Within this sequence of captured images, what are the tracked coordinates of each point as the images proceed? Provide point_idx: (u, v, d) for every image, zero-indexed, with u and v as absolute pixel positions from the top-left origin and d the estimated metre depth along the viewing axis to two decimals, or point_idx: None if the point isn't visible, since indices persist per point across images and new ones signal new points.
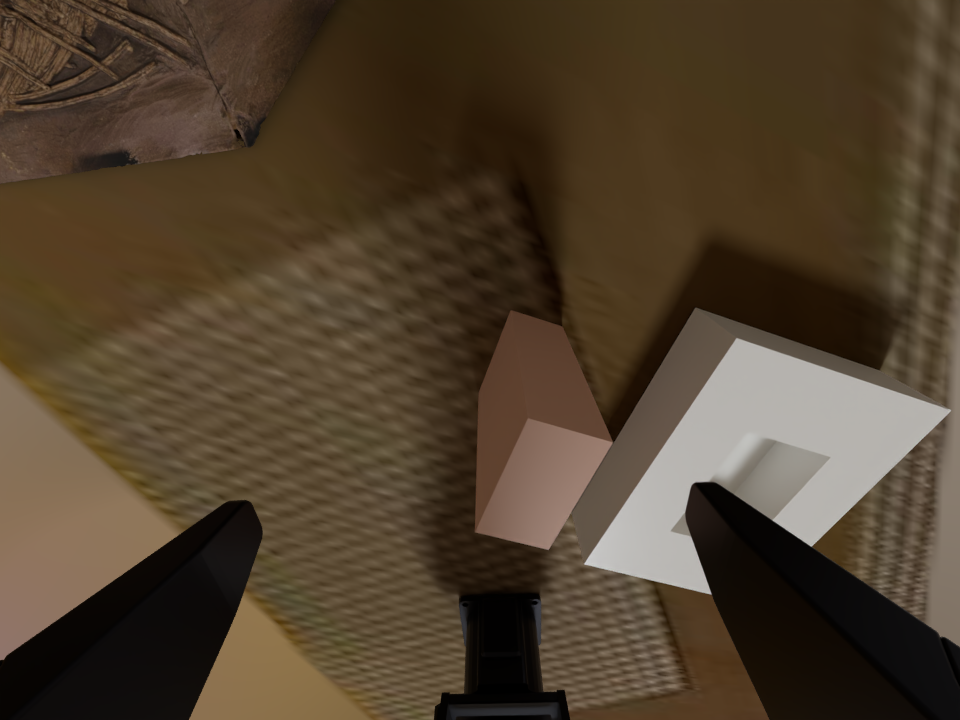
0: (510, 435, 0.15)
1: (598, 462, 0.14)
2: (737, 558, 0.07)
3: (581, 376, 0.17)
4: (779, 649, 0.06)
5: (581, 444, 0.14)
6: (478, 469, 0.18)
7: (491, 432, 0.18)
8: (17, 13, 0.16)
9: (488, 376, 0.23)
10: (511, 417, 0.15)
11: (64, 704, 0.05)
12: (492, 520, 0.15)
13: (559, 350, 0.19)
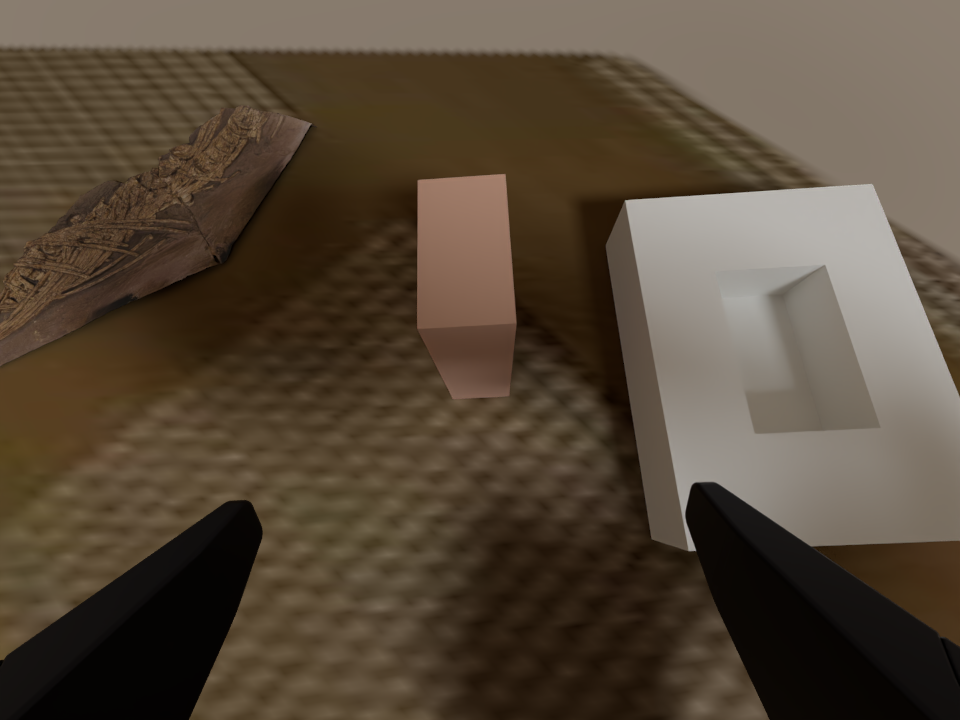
0: None
1: (504, 197, 0.14)
2: (737, 558, 0.07)
3: None
4: (779, 649, 0.06)
5: (477, 185, 0.14)
6: None
7: None
8: (85, 244, 0.26)
9: None
10: None
11: (64, 704, 0.05)
12: (430, 304, 0.13)
13: None
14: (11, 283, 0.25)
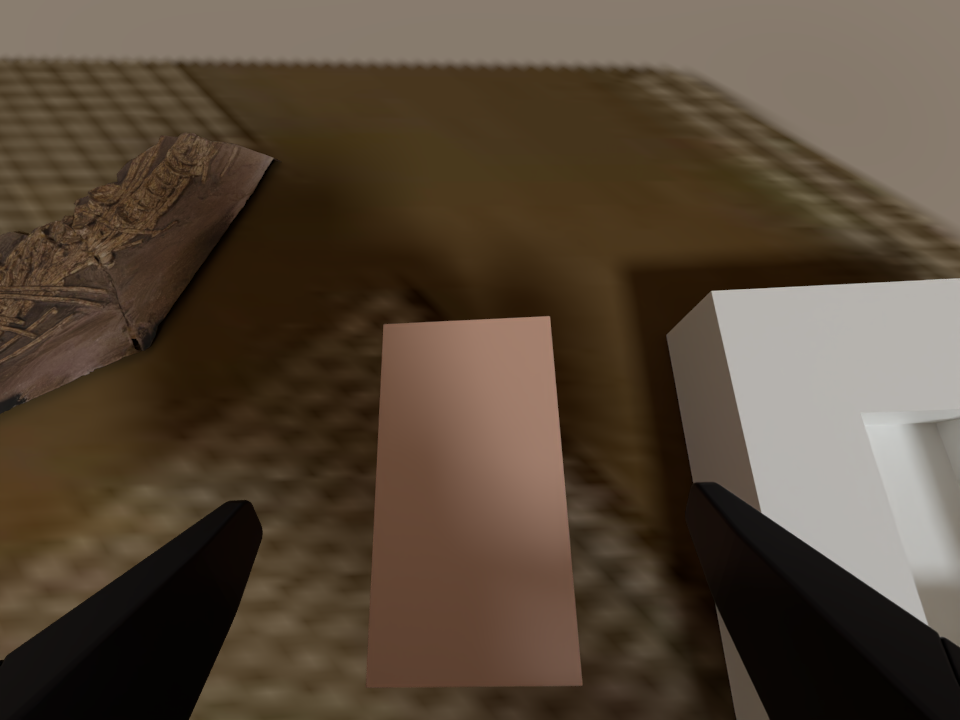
0: None
1: (549, 366, 0.07)
2: (737, 558, 0.07)
3: None
4: (779, 649, 0.06)
5: (497, 339, 0.07)
6: None
7: None
8: None
9: None
10: None
11: (64, 704, 0.05)
12: (397, 622, 0.06)
13: None
14: None
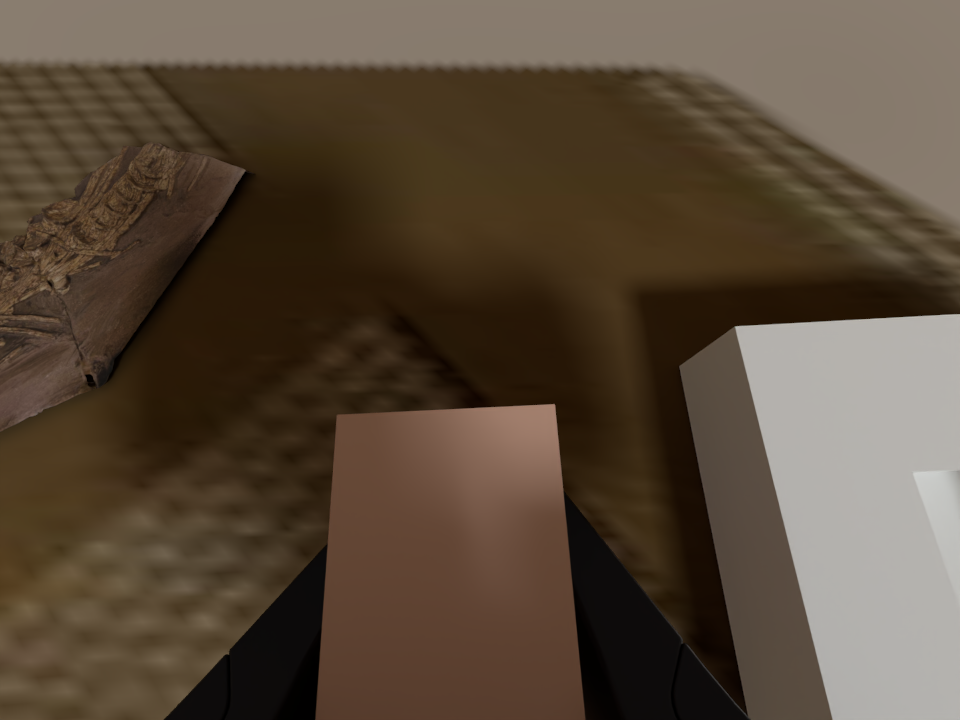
0: None
1: (555, 476, 0.05)
2: None
3: None
4: None
5: (485, 436, 0.05)
6: None
7: None
8: None
9: None
10: None
11: (295, 700, 0.05)
12: None
13: None
14: None
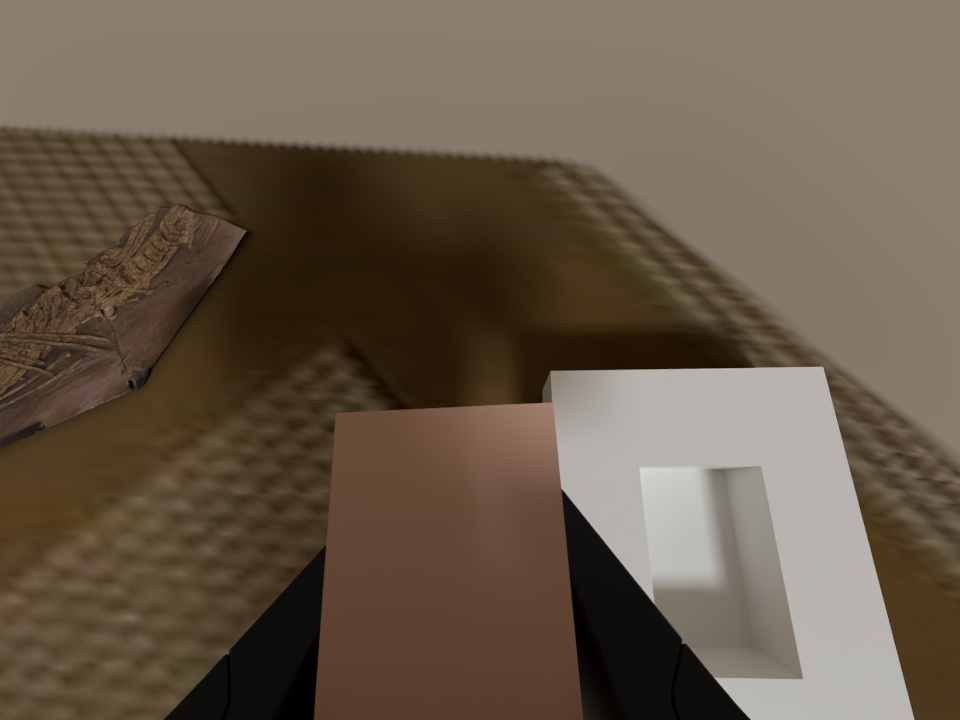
0: None
1: (553, 473, 0.05)
2: None
3: None
4: None
5: (483, 434, 0.05)
6: None
7: None
8: (1, 359, 0.25)
9: None
10: None
11: (295, 700, 0.05)
12: None
13: None
14: None
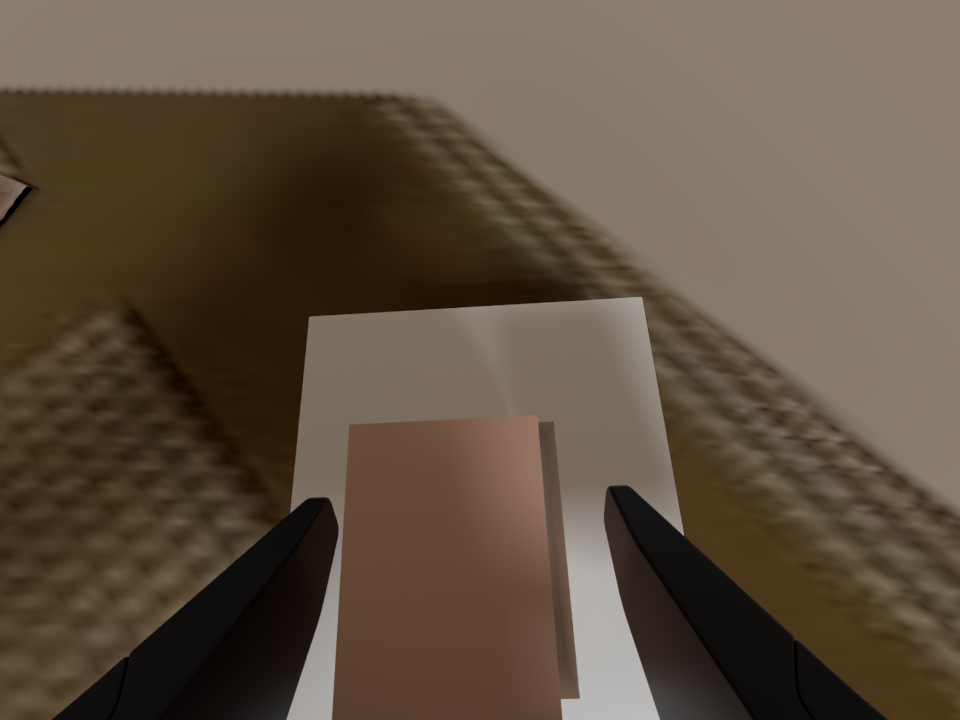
0: None
1: (537, 477, 0.06)
2: (634, 562, 0.07)
3: None
4: (663, 652, 0.06)
5: (477, 443, 0.06)
6: None
7: None
8: None
9: None
10: None
11: (193, 701, 0.05)
12: None
13: None
14: None
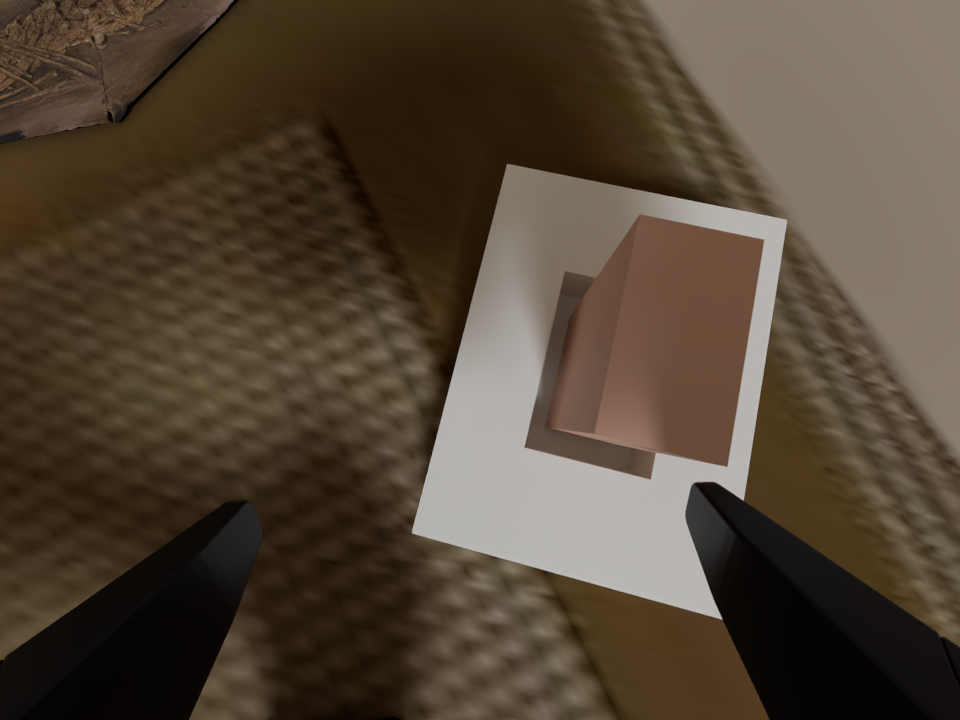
0: (617, 282, 0.11)
1: (754, 275, 0.10)
2: (737, 558, 0.07)
3: None
4: (779, 649, 0.06)
5: (721, 246, 0.10)
6: (572, 420, 0.12)
7: (582, 365, 0.13)
8: None
9: (556, 388, 0.18)
10: (611, 282, 0.12)
11: (63, 704, 0.05)
12: (619, 404, 0.09)
13: None
14: None
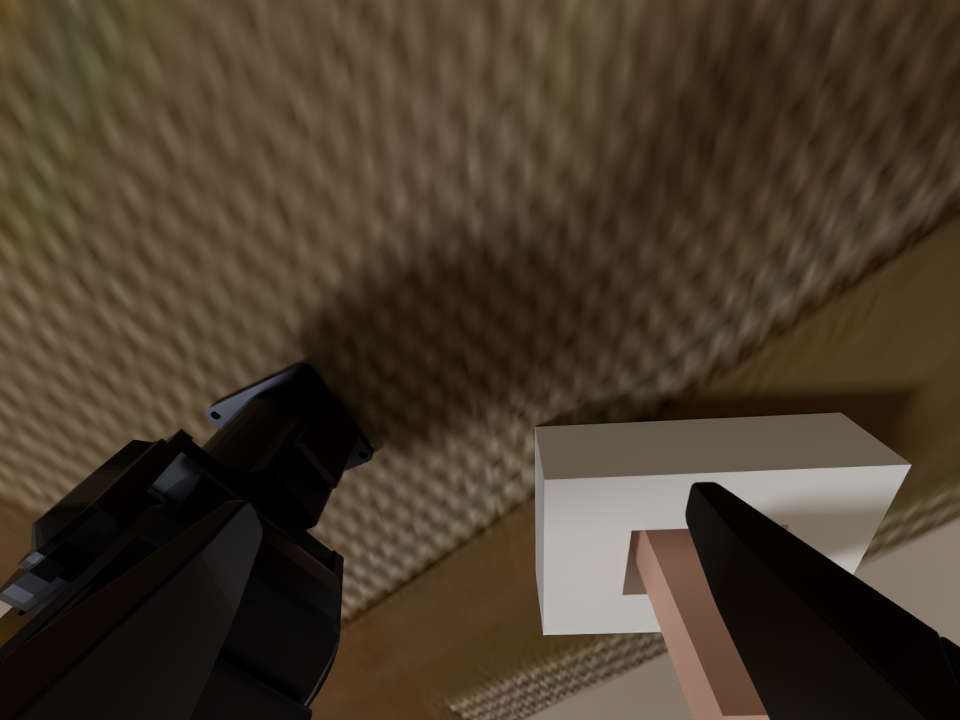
0: None
1: None
2: (737, 558, 0.07)
3: None
4: (779, 649, 0.06)
5: None
6: (691, 623, 0.17)
7: None
8: None
9: None
10: None
11: (64, 704, 0.05)
12: None
13: None
14: None
